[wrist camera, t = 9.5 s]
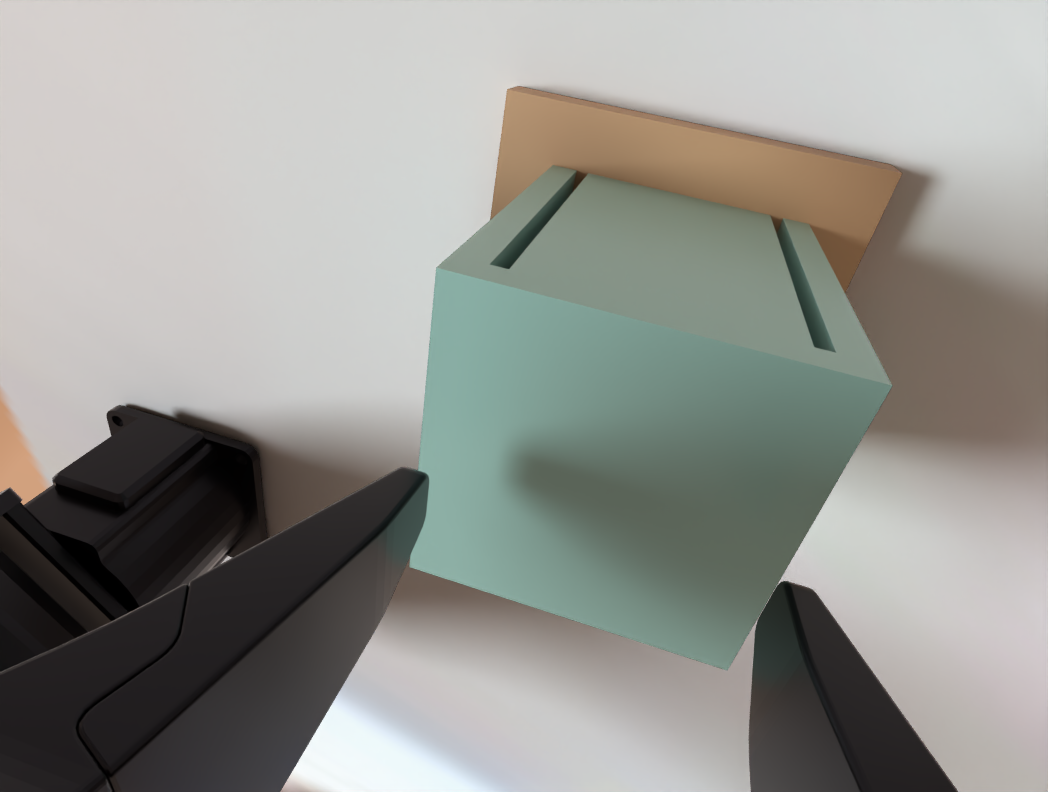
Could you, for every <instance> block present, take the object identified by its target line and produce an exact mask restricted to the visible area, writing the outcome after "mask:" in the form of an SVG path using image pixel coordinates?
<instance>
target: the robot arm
mask: <svg viewBox="0 0 1048 792" xmlns="http://www.w3.org/2000/svg"><path fill="white" fill-rule="evenodd" d="M107 421H108V424H109V428H110V432H111V437H110V438H108V439H107V440H105V441H104V442H102V443H101V444H100V445H98V446H97V447H95V448H94V449H92V450H91V451H89V452H88V453H86V454H85V455H83V456H82V457H81V458H79V459H78V460H76V461H75V462H73V463H72V464H70V465H69V466H67V467H66V468H64V469H63V470H61V471H60V472H59V473H57V474H56V475H55V476H54V477H53V484H54V485H52V486H51V487H49V488H48V489H46V490H45V491H44V492H42V493H41V494H39V495H38V496H36V497H35V498H33V499H32V500H31V501H29V502H28V503H26V504H25V505H22V503H21V501H22V499H21V498H20V497H19V496H18V495H17V494H16V493H15V492H14V491H13V490H12V489H11V488H8V489H6V490H4V491H2V492H0V792H280V791H281V790H282V788H283V786H284V784H285V783H286V781H287V779H288V778H289V776H290V774H291V773H292V771H293V769H294V767H295V766H296V764H297V762H298V761H299V759H300V757H301V756H302V754H303V752H304V751H305V749H306V747H307V745H308V744H309V742H310V740H311V739H312V737H313V735H314V734H315V732H316V730H317V728H318V727H319V725H320V723H321V722H322V720H323V718H324V717H325V715H326V713H327V711H328V710H329V708H330V706H331V705H332V703H333V701H334V700H335V698H336V696H337V695H338V693H339V691H340V689H341V688H342V686H343V684H344V683H345V681H346V679H347V678H348V676H349V674H350V672H351V671H352V669H353V667H354V666H355V664H356V662H357V661H358V659H359V657H360V655H361V654H362V652H363V650H364V649H365V647H366V645H367V644H368V642H369V640H370V639H371V637H372V635H373V633H374V632H375V630H376V628H377V626H378V624H379V623H380V621H381V619H382V617H383V615H384V613H385V611H386V609H387V607H388V604H389V602H390V600H391V598H392V596H393V593H394V591H395V589H396V587H397V584H398V582H399V580H400V577H401V575H402V573H403V571H404V568H405V566H406V564H407V562H408V559H409V557H410V555H411V553H412V550H413V548H414V546H415V544H416V541H417V539H418V537H419V535H420V532H421V530H422V528H423V525H424V521H425V518H426V512H427V501H428V491H429V476H428V475H427V474H426V473H425V472H422V471H418V470H415V469H412V468H408V467H401V468H398V469H397V470H395V471H393V472H391V473H389V474H387V475H385V476H384V477H382V478H380V479H378V480H376V481H374V482H372V483H371V484H369V485H367V486H365V487H363V488H361V489H359V490H358V491H356V492H354V493H352V494H350V495H348V496H346V497H345V498H343V499H341V500H339V501H337V502H335V503H333V504H332V505H330V506H328V507H326V508H324V509H322V510H320V511H319V512H317V513H315V514H313V515H311V516H309V517H307V518H306V519H304V520H302V521H300V522H298V523H296V524H294V525H293V526H291V527H289V528H287V529H285V530H283V531H281V532H280V533H278V534H276V535H274V536H272V537H270V538H268V539H267V535H266V524H265V514H264V503H263V493H262V483H261V472H260V462H259V455H258V453H257V451H256V450H255V449H254V448H253V447H252V446H251V445H249V444H247V443H243V442H240V441H237V440H233V439H230V438H227V437H224V436H220V435H217V434H214V433H211V432H207V431H204V430H201V429H198V428H194V427H191V426H188V425H184V424H181V423H178V422H175V421H171V420H168V419H165V418H162V417H158V416H155V415H152V414H149V413H145V412H142V411H139V410H135V409H132V408H129V407H126V406H121V405H118V406H116V407H114V408H113V409H111V410H110V411H108V413H107ZM227 556H230V557H233V558H231V559H229V560H228V561H226V562H224V563H222V562H223V561H224V559H225V558H226V557H227ZM221 563H222V564H221ZM749 765H750V785H751V792H958V791H957V789H956V788H955V786H954V785H953V784H952V782H951V781H950V779H949V778H948V777H947V775H946V774H945V772H944V771H943V770H942V768H941V767H940V765H939V764H938V763H937V761H936V760H935V758H934V757H933V756H932V754H931V753H930V751H929V750H928V749H927V747H926V746H925V744H924V743H923V742H922V740H921V739H920V737H919V736H918V735H917V733H916V732H915V730H914V729H913V728H912V726H911V725H910V723H909V722H908V721H907V719H906V718H905V716H904V715H903V714H902V712H901V711H900V709H899V708H898V707H897V705H896V704H895V702H894V701H893V700H892V698H891V697H890V695H889V694H888V693H887V691H886V690H885V688H884V687H883V686H882V684H881V683H880V681H879V680H878V679H877V677H876V676H875V675H874V673H873V672H872V670H871V669H870V668H869V666H868V665H867V663H866V662H865V661H864V659H863V658H862V656H861V655H860V654H859V652H858V651H857V649H856V648H855V647H854V645H853V644H852V642H851V641H850V640H849V638H848V637H847V635H846V634H845V633H844V631H843V630H842V628H841V627H840V626H839V624H838V623H837V621H836V620H835V619H834V617H833V616H832V614H831V613H830V612H829V610H828V609H827V607H826V606H825V605H824V603H823V602H822V600H821V599H820V598H819V596H818V595H817V594H816V592H815V591H813V590H812V589H810V588H808V587H805V586H802V585H798V584H795V583H792V582H788V581H783V582H781V583H780V584H779V585H778V586H777V587H776V589H775V590H774V592H773V594H772V596H771V597H770V599H769V601H768V603H767V604H766V606H765V608H764V610H763V611H762V613H761V615H760V617H759V619H758V622H757V625H756V630H755V642H754V657H753V673H752V689H751V705H750V720H749Z"/></svg>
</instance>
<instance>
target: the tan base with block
mask: <svg viewBox="0 0 1048 792" xmlns="http://www.w3.org/2000/svg"><path fill="white" fill-rule="evenodd" d="M552 165H555V166H559V167H564V168H568V169H572V170H577V171H576V176H575V181H574V186H573V191H574V190H575V189H576V188H577V187H578V185H579V184H580V183H581V182H582V181H583V179H584V178H585V177H586V176H587V174H588V173H590V174H594V175H598V176H603V177H607V178H612V179H616V180H620V181H625V182H629V183H633V184H638V185H642V186H646V187H651V188H655V189H659V190H664V191H668V192H672V193H677V194H681V195H685V196H690V197H694V198H698V199H703V200H707V201H711V202H716V203H720V204H724V205H729V206H733V207H737V208H742V209H746V210H750V211H755V212H759V213H763V214H768V215H770V216H771V219H772V222H773V225H774V228H775V231H776V234H777V232H778V230H779V227H780V225H781V222H782V220H783V218H785V219H789V220H794V221H798V222H802V223H807V224H809V225H810V227H811V229H812V231H813V233H814V234H815V236H816V238H817V240H818V242H819V244H820V246H821V248H822V250H823V252H824V254H825V256H826V258H827V260H828V262H829V264H830V265H831V267H832V269H833V271H834V273H835V275H836V277H837V279H838V281H839V283H840V285H841V287H842V289H843V291H844V293H845V292H846V290H847V288H848V286H849V284H850V281H851V279H852V277H853V275H854V273H855V271H856V269H857V267H858V265H859V263H860V261H861V258H862V256H863V254H864V252H865V250H866V248H867V246H868V244H869V242H870V240H871V238H872V235H873V233H874V231H875V229H876V227H877V225H878V223H879V221H880V219H881V217H882V215H883V212H884V210H885V208H886V206H887V204H888V202H889V200H890V198H891V196H892V194H893V192H894V189H895V187H896V185H897V183H898V181H899V179H900V177H901V175H902V173H901V172H900V171H899V170H897V169H896V168H895V167H893V166H892V165H890V164H885V163H881V162H876V161H871V160H866V159H862V158H857V157H852V156H847V155H843V154H838V153H833V152H828V151H824V150H819V149H814V148H809V147H805V146H800V145H795V144H790V143H786V142H781V141H776V140H771V139H767V138H762V137H757V136H752V135H748V134H743V133H738V132H733V131H729V130H724V129H719V128H714V127H710V126H705V125H700V124H695V123H691V122H686V121H681V120H676V119H672V118H667V117H662V116H657V115H653V114H648V113H643V112H638V111H634V110H629V109H624V108H619V107H615V106H610V105H605V104H600V103H596V102H591V101H586V100H581V99H577V98H572V97H567V96H562V95H558V94H553V93H548V92H543V91H539V90H534V89H529V88H524V87H520V86H517V87H514V88H510V89H507V95H506V103H505V110H504V118H503V126H502V133H501V141H500V149H499V156H498V164H497V172H496V179H495V187H494V195H493V202H492V210H491V218H490V220H491V219H492V218H493V217H494V216H496V215H497V214H498V213H499V212H500V211H501V210H502V209H504V208H505V207H506V206H507V205H508V204H509V203H510V202H512V201H513V200H514V199H515V198H516V197H517V196H518V195H519V194H521V193H522V192H523V191H524V190H525V189H526V188H527V187H529V186H530V185H531V184H532V183H533V182H534V181H535V180H537V179H538V178H539V177H540V176H541V175H542V174H543V173H544V172H546V171H547V170H548V169H549V168H550V167H551V166H552ZM573 191H572V193H573Z"/></svg>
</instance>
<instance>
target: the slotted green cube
mask: <svg viewBox="0 0 1048 792" xmlns="http://www.w3.org/2000/svg"><path fill="white" fill-rule="evenodd" d="M576 171H577V170H572V169H568V168H564V167H559V166H555V165H552V166H551V167H550V168H549V169H548V170H547V171H546V172H544V173H543V174H542V175H541V176H540V177H539V178H538V179H537V180H535V181H534V182H533V183H532V184H531V185H530V186H529V187H527V188H526V189H525V190H524V191H523V192H522V193H521V194H519V195H518V196H517V197H516V198H515V199H514V200H513V201H512V202H510V203H509V204H508V205H507V206H506V207H505V208H504V209H502V210H501V211H500V212H499V213H498V214H497V215H496V216H494V217H493V218H492V219H491V220H490V221H489V222H488V223H487V224H485V225H484V226H483V227H482V228H481V229H480V230H479V231H477V232H476V233H475V234H474V235H473V236H472V237H471V238H469V239H468V240H467V241H466V242H465V243H464V244H463V245H462V246H460V247H459V248H458V249H457V250H456V251H455V252H454V253H452V254H451V255H450V256H449V257H448V258H447V259H446V260H444V261H443V262H442V263H441V264H440V265H439V266H438V267H437V268H436V277H435V288H434V299H433V310H432V321H431V332H430V343H429V355H428V366H427V377H426V388H425V399H424V410H423V421H422V432H421V443H420V455H419V466H418V471H422V472H425V473H426V474H427V475H428V476H429V491H428V501H427V512H426V518H425V521H424V525H423V528H422V530H421V532H420V535H419V537H418V539H417V541H416V544H415V546H414V548H413V550H412V553H411V555H410V566H409V567H411V568H414V569H417V570H420V571H423V572H426V573H429V574H432V575H435V576H438V577H441V578H444V579H448V580H451V581H454V582H457V583H460V584H463V585H466V586H469V587H472V588H475V589H478V590H481V591H484V592H488V593H491V594H494V595H497V596H500V597H503V598H506V599H509V600H512V601H515V602H518V603H521V604H524V605H527V606H531V607H534V608H537V609H540V610H543V611H546V612H549V613H552V614H555V615H558V616H561V617H564V618H567V619H570V620H574V621H577V622H580V623H583V624H586V625H589V626H592V627H595V628H598V629H601V630H604V631H607V632H610V633H613V634H617V635H620V636H623V637H626V638H629V639H632V640H635V641H638V642H641V643H644V644H647V645H650V646H653V647H657V648H660V649H663V650H666V651H669V652H672V653H675V654H678V655H681V656H684V657H687V658H690V659H693V660H696V661H700V662H703V663H706V664H709V665H712V666H715V667H718V668H721V669H724V670H728V668H729V667H730V665H731V663H732V662H733V660H734V658H735V656H736V655H737V653H738V651H739V650H740V648H741V646H742V644H743V643H744V641H745V639H746V637H747V636H748V634H749V632H750V631H751V629H752V627H753V625H754V624H755V622H756V620H757V618H758V617H759V615H760V613H761V612H762V610H763V608H764V606H765V605H766V603H767V601H768V600H769V598H770V596H771V594H772V593H773V591H774V589H775V587H776V586H777V584H778V582H779V581H780V579H781V577H782V575H783V574H784V572H785V570H786V569H787V567H788V565H789V563H790V562H791V560H792V558H793V556H794V555H795V553H796V551H797V550H798V548H799V546H800V544H801V543H802V541H803V539H804V537H805V536H806V534H807V532H808V531H809V529H810V527H811V525H812V524H813V522H814V520H815V519H816V517H817V515H818V513H819V512H820V510H821V508H822V506H823V505H824V503H825V501H826V500H827V498H828V496H829V494H830V493H831V491H832V489H833V488H834V486H835V484H836V482H837V481H838V479H839V477H840V475H841V474H842V472H843V470H844V469H845V467H846V465H847V463H848V462H849V460H850V458H851V456H852V455H853V453H854V451H855V450H856V448H857V446H858V444H859V443H860V441H861V439H862V438H863V436H864V434H865V432H866V431H867V429H868V427H869V425H870V424H871V422H872V420H873V419H874V417H875V415H876V413H877V412H878V410H879V408H880V406H881V405H882V403H883V401H884V400H885V398H886V396H887V394H888V393H889V391H890V389H891V388H892V384H891V382H890V380H889V378H888V376H887V374H886V372H885V370H884V368H883V366H882V364H881V362H880V360H879V358H878V357H877V355H876V353H875V351H874V349H873V347H872V345H871V343H870V341H869V339H868V337H867V335H866V333H865V331H864V329H863V327H862V326H861V324H860V322H859V320H858V318H857V316H856V314H855V312H854V310H853V308H852V306H851V304H850V302H849V300H848V298H847V296H846V295H845V293H844V291H843V289H842V287H841V285H840V283H839V281H838V279H837V277H836V275H835V273H834V271H833V269H832V267H831V265H830V264H829V262H828V260H827V258H826V256H825V254H824V252H823V250H822V248H821V246H820V244H819V242H818V240H817V238H816V236H815V234H814V233H813V231H812V229H811V227H810V225H809V224H807V223H802V222H798V221H794V220H789V219H785V218H783V220H782V222H781V225H780V227H779V230H778V232H777V234H776V231H775V228H774V225H773V222H772V219H771V216H770V215H768V214H763V213H759V212H755V211H750V210H746V209H742V208H737V207H733V206H729V205H724V204H720V203H716V202H711V201H707V200H703V199H698V198H694V197H690V196H685V195H681V194H677V193H672V192H668V191H664V190H659V189H655V188H651V187H646V186H642V185H638V184H633V183H629V182H625V181H620V180H616V179H612V178H607V177H603V176H598V175H594V174H590V173H588V174H587V176H586V177H585V178H584V179H583V181H582V182H581V183H580V184H579V185H578V187H577V188H576V189H575V190H574V191H573V186H574V181H575V176H576ZM572 191H573V193H572Z"/></svg>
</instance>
